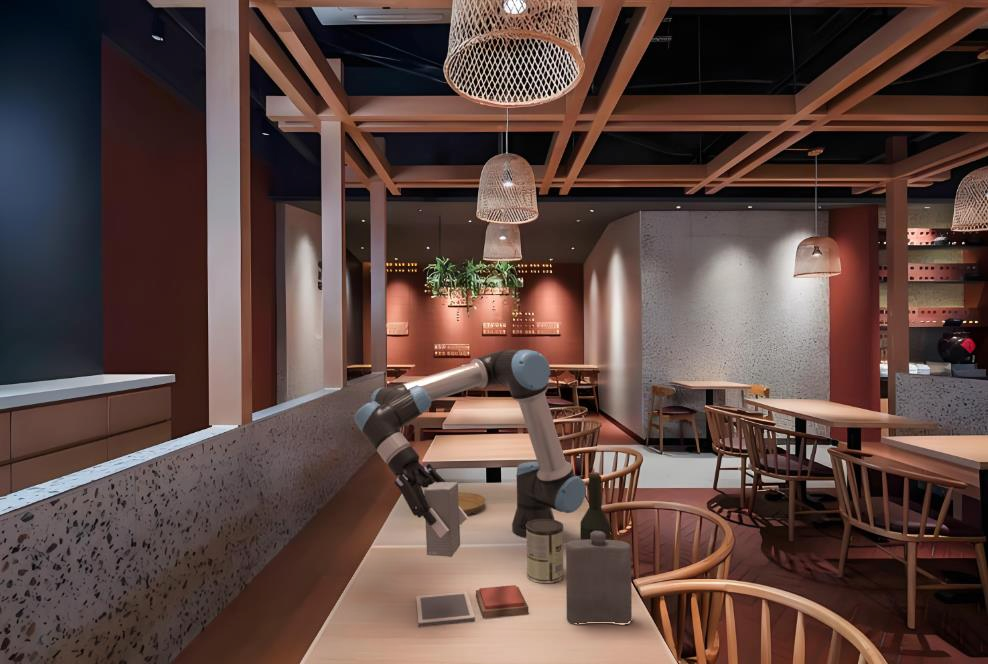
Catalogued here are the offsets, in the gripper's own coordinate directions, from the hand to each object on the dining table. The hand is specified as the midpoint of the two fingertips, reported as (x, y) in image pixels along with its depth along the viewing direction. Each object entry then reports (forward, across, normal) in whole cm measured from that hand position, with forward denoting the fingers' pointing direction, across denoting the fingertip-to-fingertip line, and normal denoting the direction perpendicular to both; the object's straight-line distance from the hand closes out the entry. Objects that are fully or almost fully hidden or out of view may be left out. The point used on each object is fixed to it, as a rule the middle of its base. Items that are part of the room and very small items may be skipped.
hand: (454, 527), depth 131 cm
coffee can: (+24, -28, -6) cm, 37 cm away
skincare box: (+2, 0, -7) cm, 7 cm away
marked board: (+12, 0, -17) cm, 21 cm away
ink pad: (+20, -8, -8) cm, 24 cm away
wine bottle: (+34, -26, +5) cm, 43 cm away
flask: (+37, -11, +8) cm, 40 cm away
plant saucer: (-13, -71, -43) cm, 84 cm away
